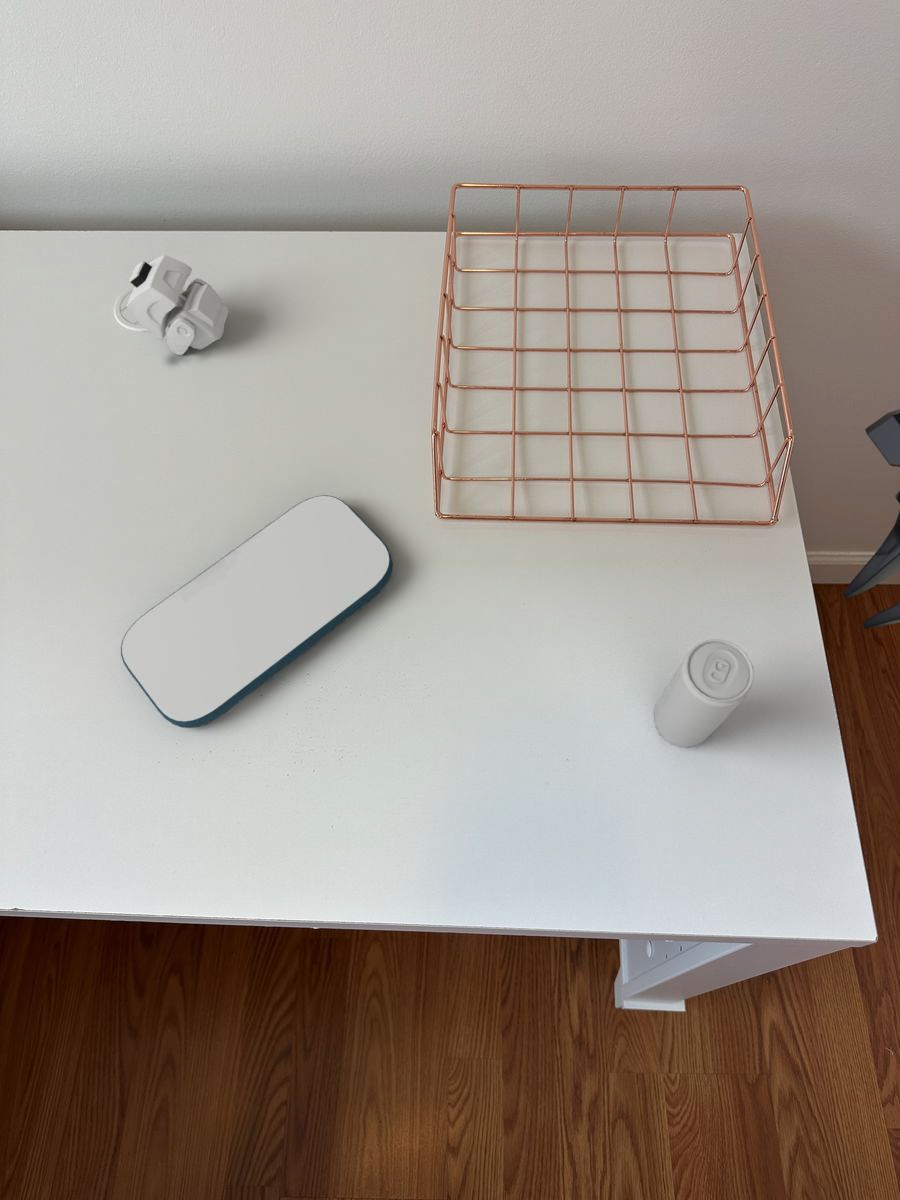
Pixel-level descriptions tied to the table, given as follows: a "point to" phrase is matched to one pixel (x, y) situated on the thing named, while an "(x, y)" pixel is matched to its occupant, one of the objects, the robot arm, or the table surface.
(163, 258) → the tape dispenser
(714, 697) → the beverage can
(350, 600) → the external hard drive
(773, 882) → the table surface
